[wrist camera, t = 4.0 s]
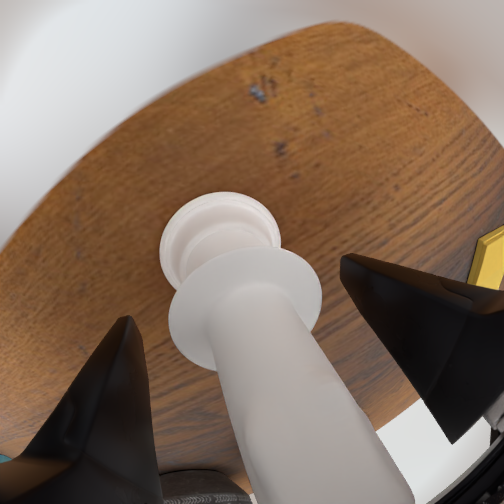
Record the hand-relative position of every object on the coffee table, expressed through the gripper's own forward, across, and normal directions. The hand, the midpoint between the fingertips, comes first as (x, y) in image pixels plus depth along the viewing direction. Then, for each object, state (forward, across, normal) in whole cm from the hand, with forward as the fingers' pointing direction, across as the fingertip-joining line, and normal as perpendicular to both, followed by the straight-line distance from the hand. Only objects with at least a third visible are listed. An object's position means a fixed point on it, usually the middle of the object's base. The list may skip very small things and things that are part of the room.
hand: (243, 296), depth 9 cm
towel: (+4, -27, +11) cm, 29 cm away
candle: (+4, 0, 0) cm, 4 cm away
